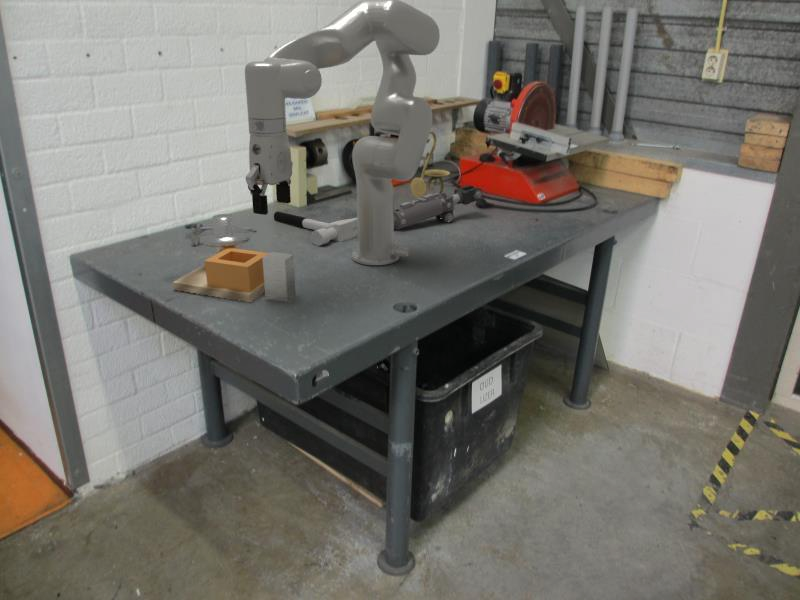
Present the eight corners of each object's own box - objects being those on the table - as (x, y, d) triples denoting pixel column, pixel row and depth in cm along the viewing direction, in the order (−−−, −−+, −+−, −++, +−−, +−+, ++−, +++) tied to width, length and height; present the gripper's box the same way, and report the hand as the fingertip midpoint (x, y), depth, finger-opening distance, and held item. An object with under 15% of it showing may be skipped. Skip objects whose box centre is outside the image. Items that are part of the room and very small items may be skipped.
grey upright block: (295, 295, 144) (293, 254, 140) (287, 302, 141) (284, 260, 137) (274, 292, 146) (271, 251, 142) (265, 299, 142) (262, 257, 138)
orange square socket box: (293, 270, 159) (290, 216, 153) (249, 302, 140) (244, 242, 135) (221, 260, 165) (215, 208, 159) (170, 289, 146) (161, 232, 141)
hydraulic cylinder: (485, 210, 204) (483, 180, 199) (390, 246, 188) (385, 215, 183) (471, 205, 209) (469, 176, 204) (377, 239, 194) (372, 209, 189)
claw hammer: (252, 214, 190) (322, 230, 173) (306, 200, 206) (375, 213, 189) (254, 231, 192) (324, 249, 175) (307, 216, 208) (376, 231, 191)
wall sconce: (428, 210, 210) (430, 134, 200) (407, 205, 216) (408, 130, 206) (454, 203, 219) (457, 129, 209) (433, 197, 225) (435, 126, 215)
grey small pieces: (194, 247, 174) (191, 225, 172) (192, 246, 175) (189, 224, 172) (256, 232, 187) (255, 211, 185) (254, 231, 188) (253, 210, 186)
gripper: (261, 133, 120) (267, 220, 127) (303, 122, 135) (306, 200, 142) (227, 130, 122) (235, 216, 129) (272, 119, 137) (277, 197, 144)
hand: (272, 207), depth 135 cm, fingers open, 9 cm apart
